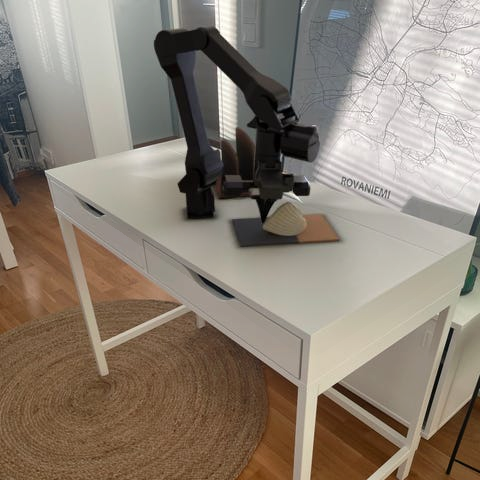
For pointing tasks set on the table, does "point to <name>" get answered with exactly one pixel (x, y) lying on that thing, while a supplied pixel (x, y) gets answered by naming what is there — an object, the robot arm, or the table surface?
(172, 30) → the robot arm
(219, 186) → the letter holder
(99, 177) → the table surface
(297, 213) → the seashell
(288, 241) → the desk pad
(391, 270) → the table surface
